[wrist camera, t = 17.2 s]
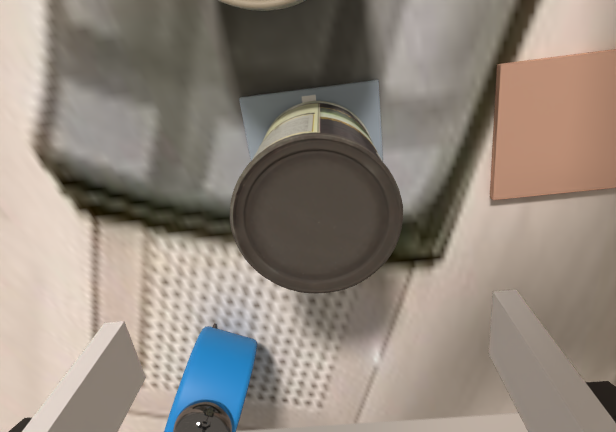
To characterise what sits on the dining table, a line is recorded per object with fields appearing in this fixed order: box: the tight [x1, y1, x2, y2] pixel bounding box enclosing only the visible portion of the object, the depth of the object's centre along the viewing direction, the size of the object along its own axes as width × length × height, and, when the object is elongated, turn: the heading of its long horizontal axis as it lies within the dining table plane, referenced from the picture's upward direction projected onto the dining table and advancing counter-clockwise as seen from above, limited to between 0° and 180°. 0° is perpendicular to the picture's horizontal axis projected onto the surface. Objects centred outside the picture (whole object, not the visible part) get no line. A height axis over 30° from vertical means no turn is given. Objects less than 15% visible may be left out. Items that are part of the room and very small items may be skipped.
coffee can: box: [230, 101, 403, 293], centre depth 31 cm, size 10×10×14 cm
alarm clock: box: [164, 324, 257, 432], centre depth 41 cm, size 13×6×15 cm, turn 162°
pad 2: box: [490, 49, 616, 200], centre depth 36 cm, size 12×12×1 cm
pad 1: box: [239, 80, 383, 161], centre depth 38 cm, size 12×12×1 cm
